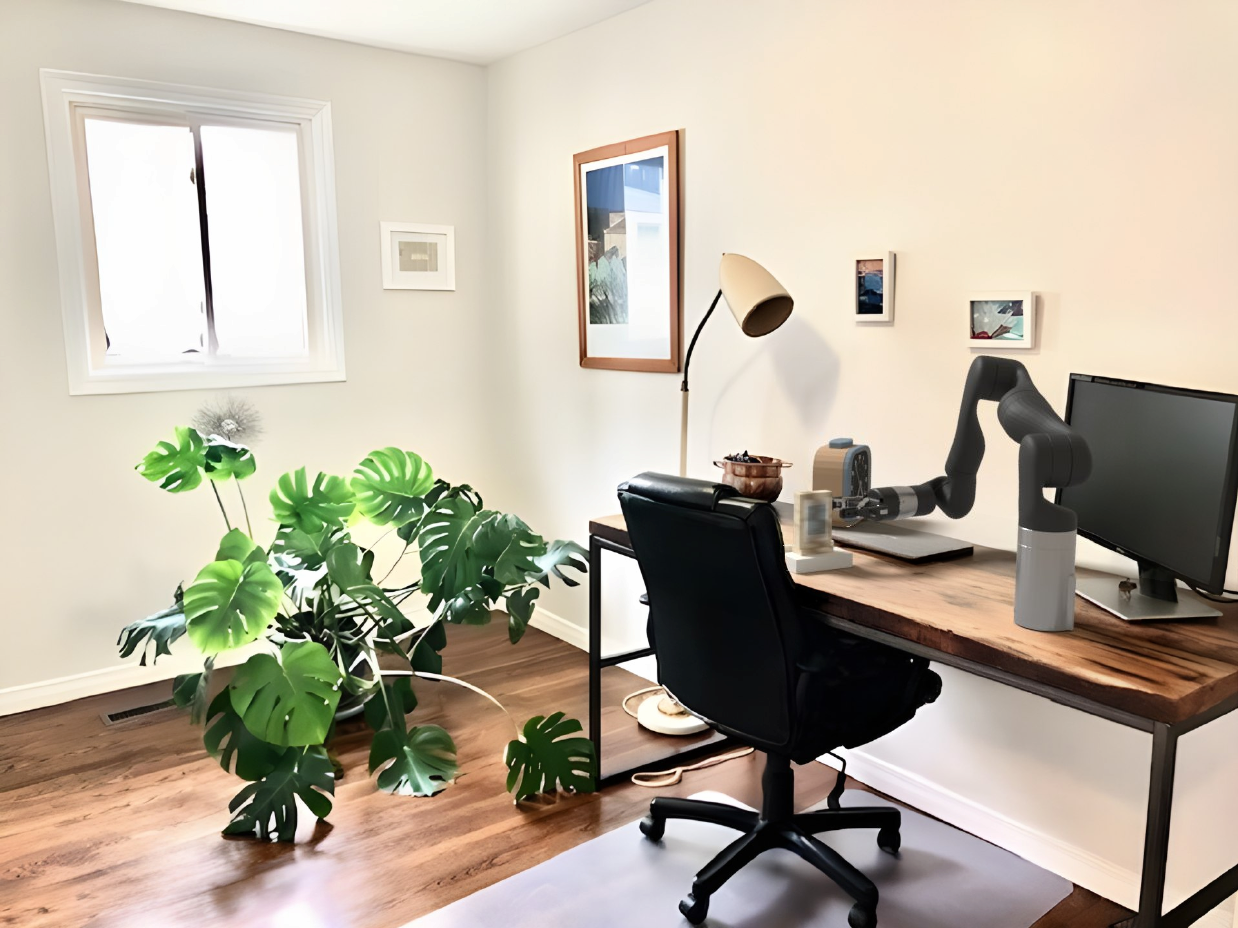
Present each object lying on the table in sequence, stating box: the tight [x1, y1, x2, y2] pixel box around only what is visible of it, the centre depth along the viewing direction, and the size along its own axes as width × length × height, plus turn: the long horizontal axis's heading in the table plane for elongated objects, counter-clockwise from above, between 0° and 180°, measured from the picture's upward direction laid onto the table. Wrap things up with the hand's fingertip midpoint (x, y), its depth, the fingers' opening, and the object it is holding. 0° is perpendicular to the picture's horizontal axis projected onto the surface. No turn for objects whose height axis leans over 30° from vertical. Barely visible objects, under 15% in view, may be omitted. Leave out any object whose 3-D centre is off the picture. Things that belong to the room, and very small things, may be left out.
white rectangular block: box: [785, 539, 854, 575], centre depth 207 cm, size 14×8×4 cm, turn 111°
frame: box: [791, 490, 833, 556], centre depth 206 cm, size 8×4×13 cm, turn 111°
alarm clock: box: [811, 437, 872, 528], centre depth 250 cm, size 21×10×22 cm, turn 150°
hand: (828, 509), depth 207 cm, fingers open, 8 cm apart
